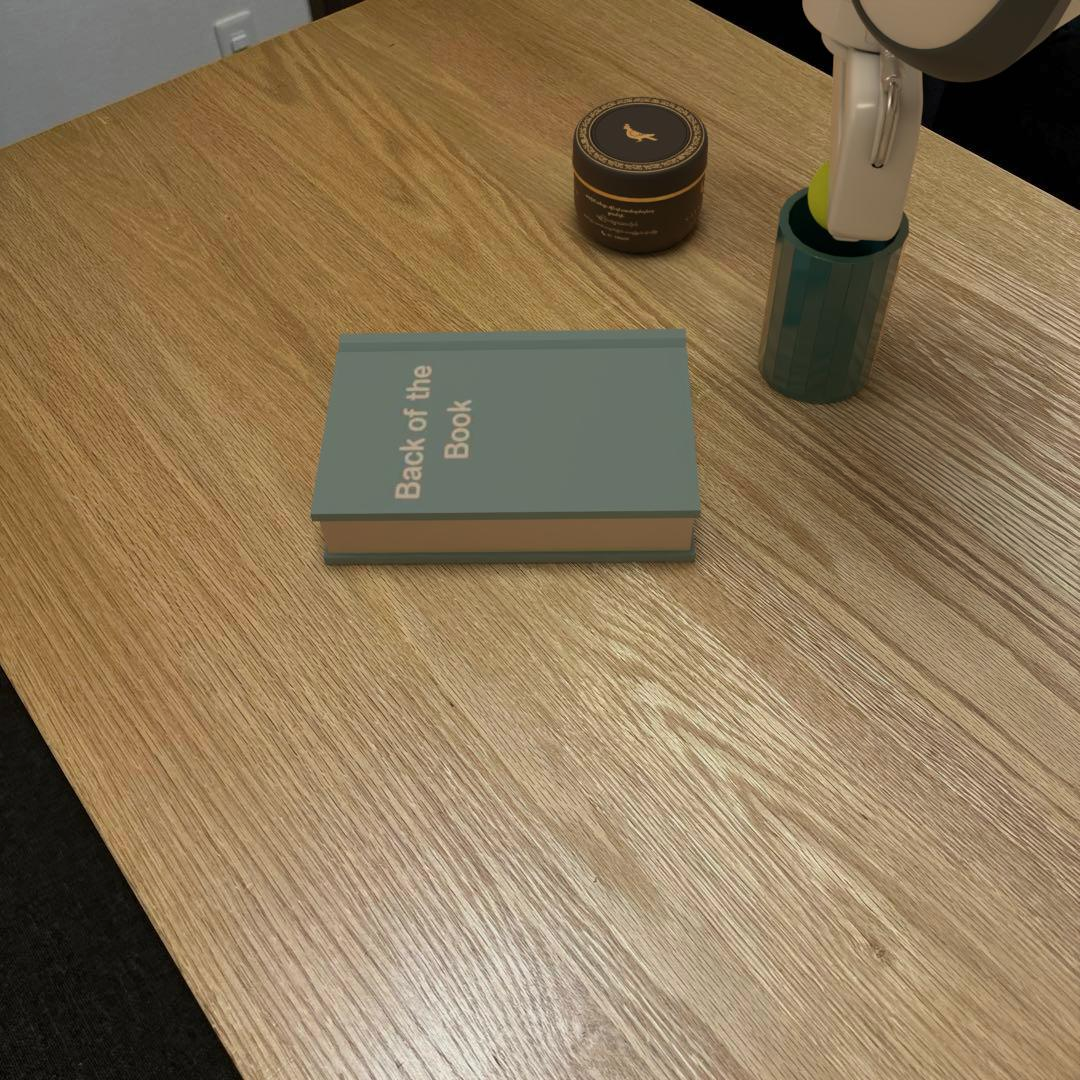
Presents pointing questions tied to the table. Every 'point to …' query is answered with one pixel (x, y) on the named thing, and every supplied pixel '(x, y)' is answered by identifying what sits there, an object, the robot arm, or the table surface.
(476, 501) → the book
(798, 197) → the tube
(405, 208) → the table surface
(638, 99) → the jar
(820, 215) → the ball
